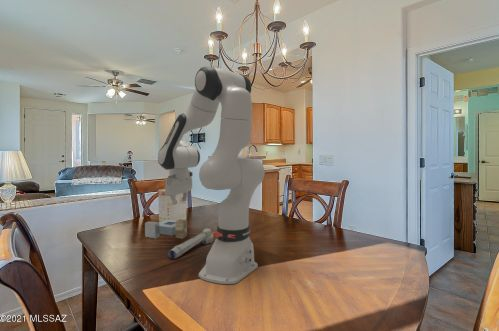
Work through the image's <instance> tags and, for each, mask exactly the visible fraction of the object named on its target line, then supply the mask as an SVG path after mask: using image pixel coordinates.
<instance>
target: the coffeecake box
mask: <svg viewBox="0 0 499 331" xmlns="http://www.w3.org/2000/svg"><path fill="white" fill-rule="evenodd" d="M157 196H158V222H159V223H160V222H162V221H165V220H167V219H169V220H180V219H182V220H187V200H186V201H182V197H183V193H181V194H177V195H176V197H175V198H176V200H177V204H175V205H172V200H171V198H170V196H166V195H165V188H162V189H158V193H157Z"/></svg>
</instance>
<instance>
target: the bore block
mask: <svg viewBox="0 0 499 331" xmlns="http://www.w3.org/2000/svg"><path fill="white" fill-rule="evenodd" d="M175 221H177V220H169V219H167V220H165V221H162V222H160V223H159V232H160V235H165V236H166V235H167V236H172V237H173V236H176V229H175Z"/></svg>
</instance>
